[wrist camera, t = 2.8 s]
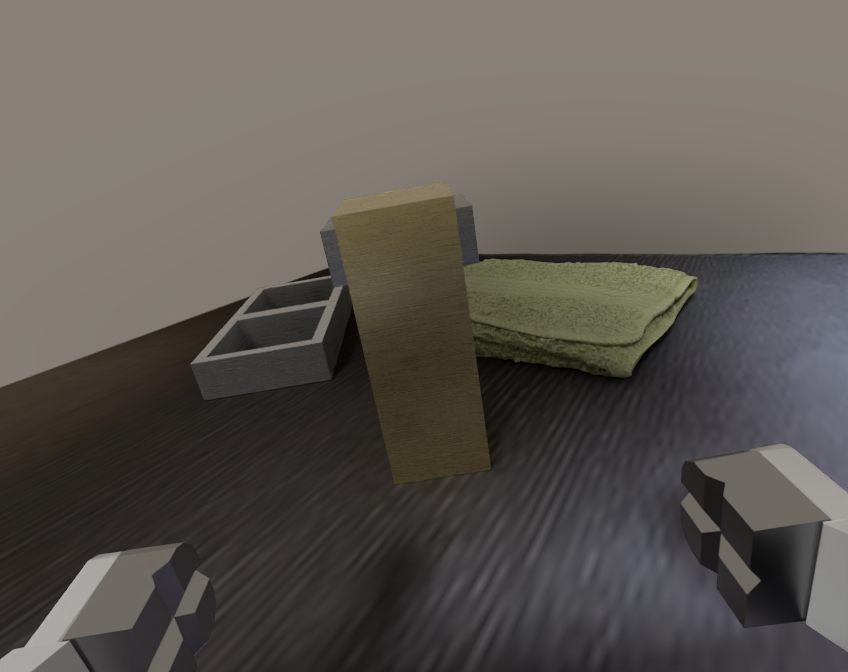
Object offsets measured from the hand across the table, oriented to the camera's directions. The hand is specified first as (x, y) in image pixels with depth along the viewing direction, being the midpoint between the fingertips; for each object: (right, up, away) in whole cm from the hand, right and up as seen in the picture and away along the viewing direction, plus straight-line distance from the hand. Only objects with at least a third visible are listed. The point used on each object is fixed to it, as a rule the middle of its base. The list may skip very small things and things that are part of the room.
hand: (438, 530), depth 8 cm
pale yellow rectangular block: (0, -2, +14) cm, 14 cm away
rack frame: (-10, +3, +29) cm, 31 cm away
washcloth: (+7, +4, +26) cm, 27 cm away
